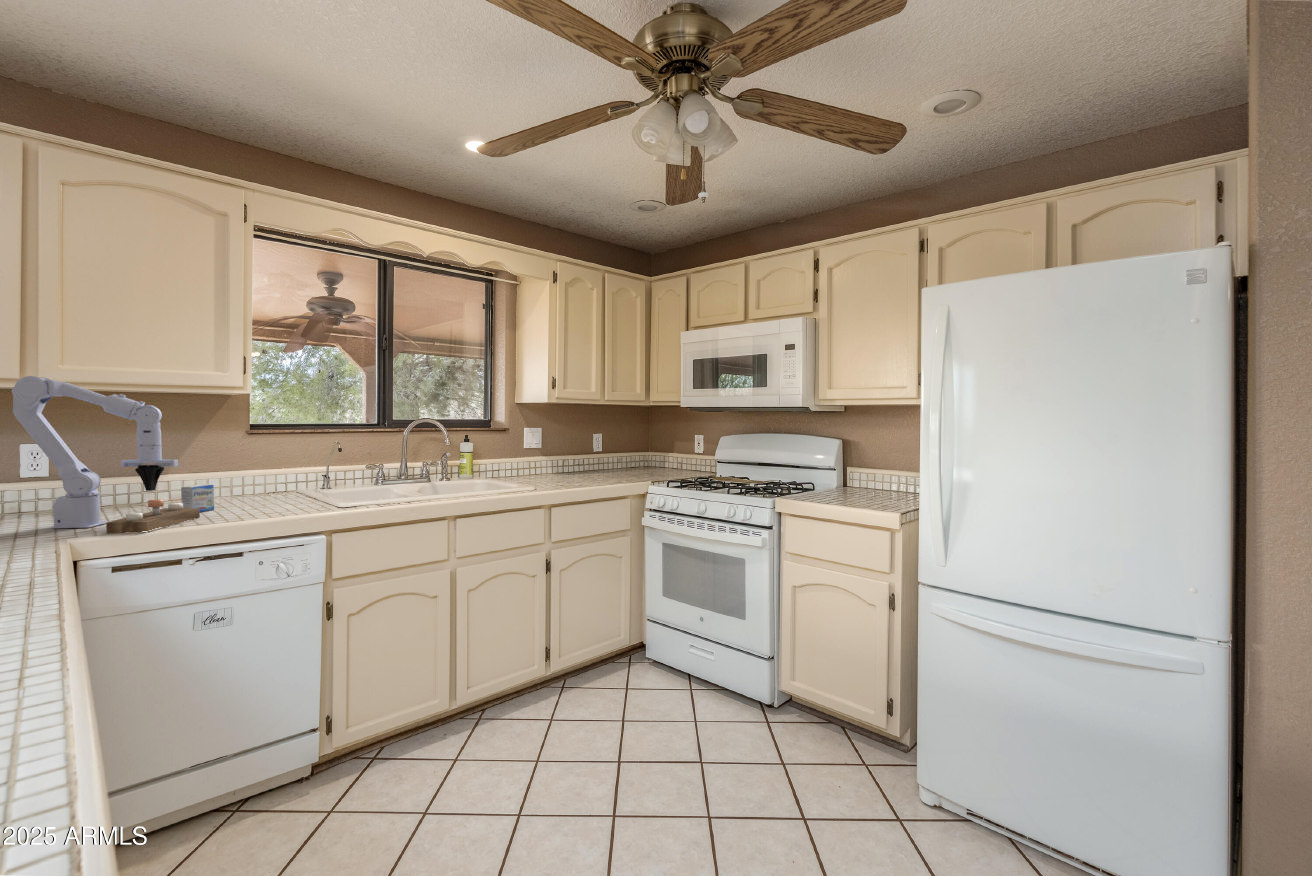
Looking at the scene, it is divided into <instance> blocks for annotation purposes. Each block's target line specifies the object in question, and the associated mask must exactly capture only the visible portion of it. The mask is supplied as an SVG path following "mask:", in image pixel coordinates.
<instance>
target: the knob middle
mask: <svg viewBox="0 0 1312 876" xmlns="http://www.w3.org/2000/svg"><path fill="white" fill-rule="evenodd" d="M164 506H165V503H164V499H163V498H154V499H149V500H147V508H152V509H151V511H153V515H160V509H161V508H160V507H164Z"/></svg>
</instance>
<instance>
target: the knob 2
mask: <svg viewBox="0 0 1312 876" xmlns="http://www.w3.org/2000/svg"><path fill="white" fill-rule="evenodd" d="M167 508H168V510H169V511H175V510H183V503H182V502H174V503H173V502H172V503H167Z"/></svg>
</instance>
